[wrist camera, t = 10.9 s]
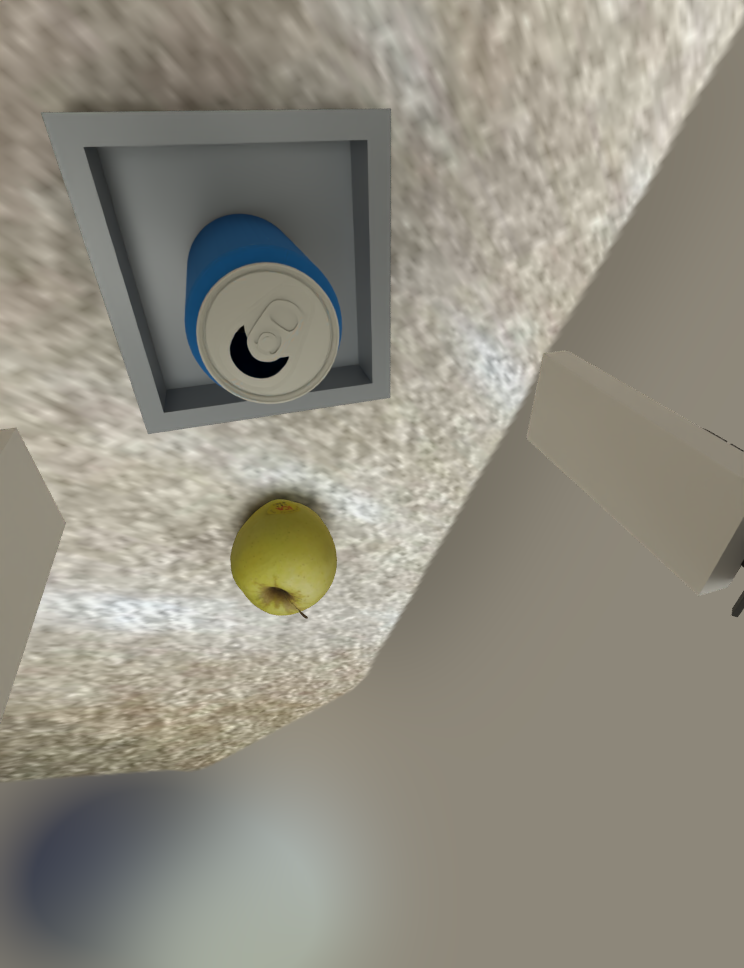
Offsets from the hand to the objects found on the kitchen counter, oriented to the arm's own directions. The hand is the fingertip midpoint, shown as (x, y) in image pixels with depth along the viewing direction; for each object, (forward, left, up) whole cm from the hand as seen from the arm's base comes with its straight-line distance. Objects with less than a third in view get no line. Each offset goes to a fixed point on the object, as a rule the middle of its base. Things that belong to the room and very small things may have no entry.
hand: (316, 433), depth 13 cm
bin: (0, 0, -21) cm, 21 cm away
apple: (+20, -1, -21) cm, 29 cm away
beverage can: (0, 0, -21) cm, 21 cm away
